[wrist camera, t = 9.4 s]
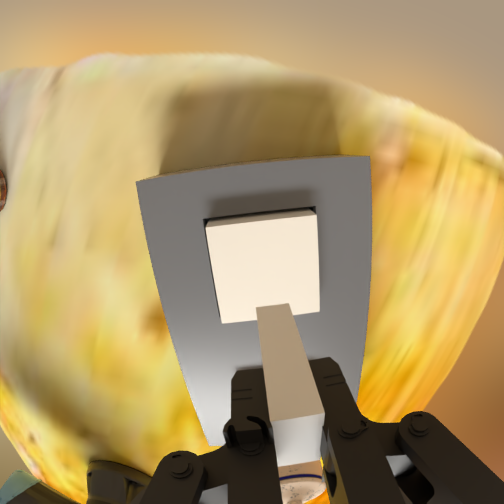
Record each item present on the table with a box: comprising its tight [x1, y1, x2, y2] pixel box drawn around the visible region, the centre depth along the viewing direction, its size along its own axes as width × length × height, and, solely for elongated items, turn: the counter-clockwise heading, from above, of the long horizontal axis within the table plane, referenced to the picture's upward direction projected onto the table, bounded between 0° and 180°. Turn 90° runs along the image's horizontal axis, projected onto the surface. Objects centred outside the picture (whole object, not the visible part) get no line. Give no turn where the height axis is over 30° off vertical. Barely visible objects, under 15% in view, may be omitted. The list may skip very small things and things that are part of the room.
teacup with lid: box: [278, 460, 326, 504], centre depth 31 cm, size 12×9×12 cm
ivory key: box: [206, 207, 320, 324], centre depth 21 cm, size 7×7×4 cm
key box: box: [136, 155, 372, 446], centre depth 26 cm, size 16×28×6 cm, turn 6°
